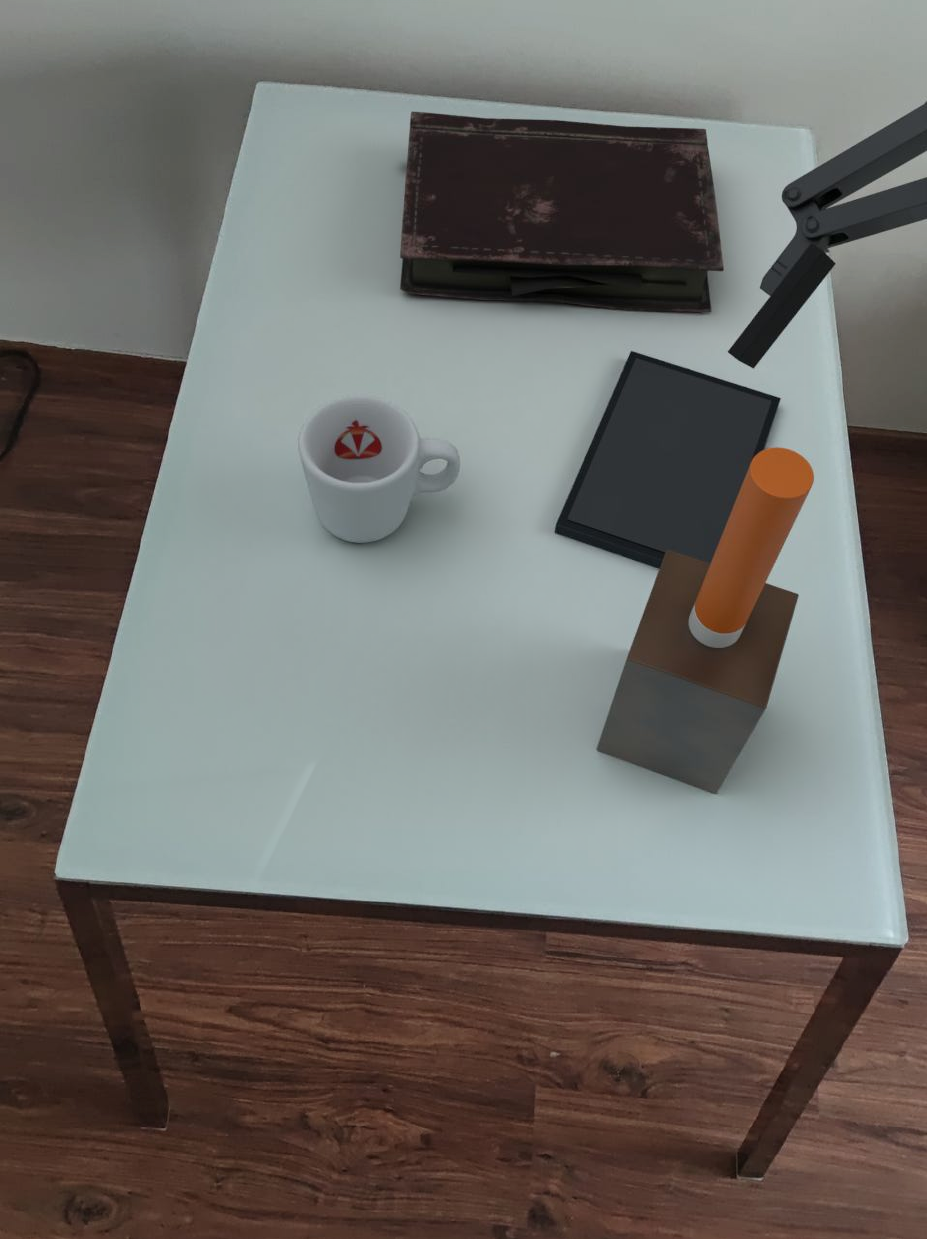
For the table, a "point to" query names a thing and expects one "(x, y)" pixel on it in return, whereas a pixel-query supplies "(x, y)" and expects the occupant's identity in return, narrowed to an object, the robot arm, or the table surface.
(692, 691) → the tall brown-topped block
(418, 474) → the cup
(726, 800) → the table surface
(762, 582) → the orange cylinder
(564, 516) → the tablet
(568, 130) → the diary
